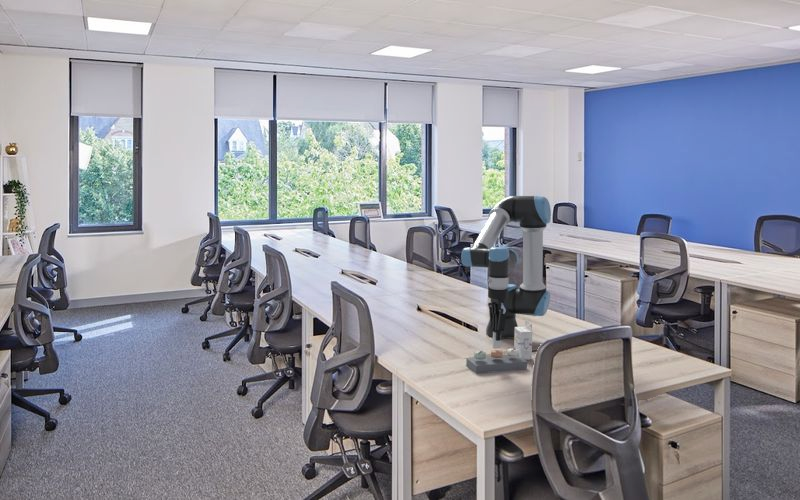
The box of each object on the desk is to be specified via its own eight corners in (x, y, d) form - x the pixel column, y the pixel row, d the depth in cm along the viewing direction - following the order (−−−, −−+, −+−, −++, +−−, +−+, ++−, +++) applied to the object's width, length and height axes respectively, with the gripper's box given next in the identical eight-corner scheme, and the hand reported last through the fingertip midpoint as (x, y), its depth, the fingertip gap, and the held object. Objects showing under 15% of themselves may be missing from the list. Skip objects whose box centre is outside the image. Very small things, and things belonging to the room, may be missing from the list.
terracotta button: (499, 354, 248) (499, 349, 248) (504, 357, 244) (504, 352, 243) (489, 355, 247) (489, 349, 246) (493, 358, 242) (493, 352, 242)
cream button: (515, 353, 250) (516, 347, 249) (520, 356, 245) (521, 350, 245) (505, 353, 248) (505, 348, 248) (510, 357, 244) (510, 351, 244)
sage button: (482, 355, 246) (483, 350, 246) (487, 359, 242) (487, 353, 242) (472, 356, 245) (472, 351, 245) (476, 359, 241) (476, 354, 240)
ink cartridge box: (513, 354, 263) (514, 319, 261) (524, 353, 264) (525, 319, 262) (520, 360, 255) (521, 324, 253) (532, 359, 256) (533, 324, 254)
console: (515, 361, 253) (515, 354, 253) (527, 368, 244) (527, 361, 243) (466, 365, 248) (466, 358, 247) (476, 373, 238) (476, 365, 238)
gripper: (482, 285, 247) (481, 344, 250) (496, 291, 235) (494, 353, 237) (500, 284, 249) (498, 343, 252) (514, 290, 237) (512, 351, 239)
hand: (496, 348), depth 244 cm, fingers closed
